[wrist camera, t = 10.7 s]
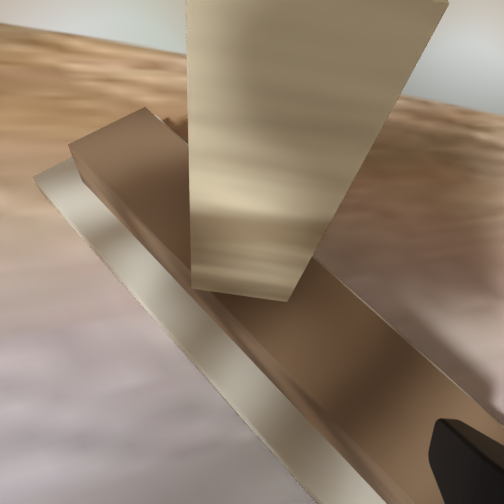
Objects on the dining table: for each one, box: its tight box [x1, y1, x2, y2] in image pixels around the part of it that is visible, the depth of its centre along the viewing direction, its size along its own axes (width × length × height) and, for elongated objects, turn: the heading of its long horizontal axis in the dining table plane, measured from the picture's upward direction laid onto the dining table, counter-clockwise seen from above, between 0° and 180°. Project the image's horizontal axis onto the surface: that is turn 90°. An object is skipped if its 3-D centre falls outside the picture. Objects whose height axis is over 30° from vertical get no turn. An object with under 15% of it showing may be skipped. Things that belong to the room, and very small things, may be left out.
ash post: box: [186, 0, 449, 302], centre depth 13 cm, size 4×4×13 cm
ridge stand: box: [33, 107, 504, 504], centre depth 20 cm, size 30×9×4 cm, turn 45°
